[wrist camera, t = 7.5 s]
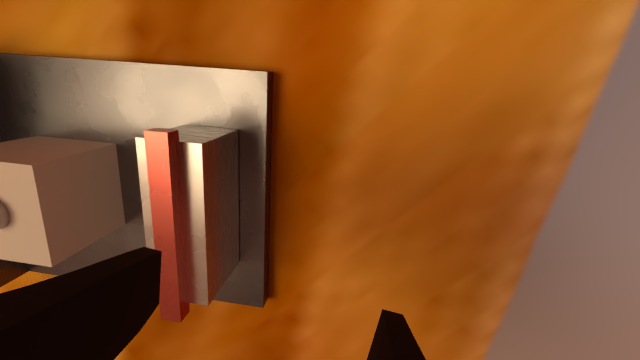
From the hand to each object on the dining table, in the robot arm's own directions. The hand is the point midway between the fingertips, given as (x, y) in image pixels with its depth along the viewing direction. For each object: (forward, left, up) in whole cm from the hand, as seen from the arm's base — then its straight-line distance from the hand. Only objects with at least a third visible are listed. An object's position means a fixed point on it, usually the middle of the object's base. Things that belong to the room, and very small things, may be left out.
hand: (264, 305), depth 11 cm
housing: (0, +14, -8) cm, 16 cm away
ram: (0, +6, -8) cm, 10 cm away
